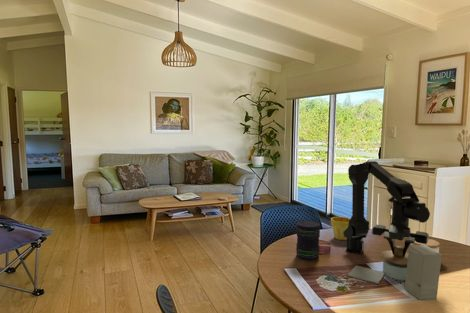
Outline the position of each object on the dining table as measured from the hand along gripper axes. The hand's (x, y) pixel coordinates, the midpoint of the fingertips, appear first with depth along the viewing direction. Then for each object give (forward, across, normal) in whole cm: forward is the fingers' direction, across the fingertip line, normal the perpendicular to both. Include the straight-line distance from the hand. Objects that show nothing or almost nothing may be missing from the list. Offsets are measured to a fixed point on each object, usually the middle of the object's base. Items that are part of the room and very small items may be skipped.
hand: (398, 255), depth 127 cm
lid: (+1, 0, 0) cm, 1 cm away
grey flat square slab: (+7, -9, -8) cm, 14 cm away
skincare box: (+7, +10, -12) cm, 17 cm away
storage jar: (+8, -35, -5) cm, 36 cm away
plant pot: (+8, -32, +29) cm, 44 cm away
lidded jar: (+8, +6, +23) cm, 25 cm away
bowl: (+7, 0, 0) cm, 7 cm away
